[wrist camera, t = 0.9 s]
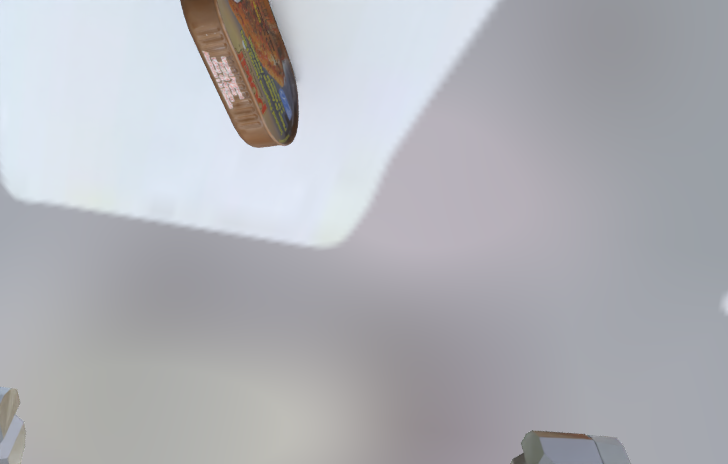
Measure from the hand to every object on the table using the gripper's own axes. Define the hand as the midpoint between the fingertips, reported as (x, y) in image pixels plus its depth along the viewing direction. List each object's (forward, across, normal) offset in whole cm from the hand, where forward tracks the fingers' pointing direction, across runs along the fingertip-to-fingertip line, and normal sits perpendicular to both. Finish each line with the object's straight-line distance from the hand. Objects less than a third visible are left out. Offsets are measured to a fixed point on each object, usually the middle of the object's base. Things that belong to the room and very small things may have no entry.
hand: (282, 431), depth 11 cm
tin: (+42, +4, +8) cm, 43 cm away
